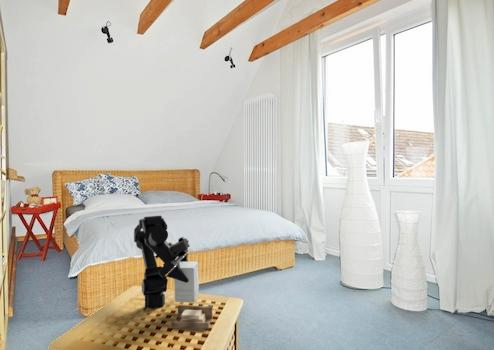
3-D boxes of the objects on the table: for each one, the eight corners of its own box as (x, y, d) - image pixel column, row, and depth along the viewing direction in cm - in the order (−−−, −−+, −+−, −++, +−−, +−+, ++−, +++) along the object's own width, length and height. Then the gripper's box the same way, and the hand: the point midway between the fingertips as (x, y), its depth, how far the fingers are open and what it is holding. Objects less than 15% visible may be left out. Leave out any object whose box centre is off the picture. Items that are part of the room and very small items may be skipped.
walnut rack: (172, 330, 109) (171, 316, 109) (179, 319, 117) (178, 305, 117) (207, 332, 108) (207, 317, 108) (212, 320, 116) (212, 306, 116)
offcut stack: (179, 326, 110) (178, 315, 110) (182, 319, 115) (182, 309, 115) (202, 326, 110) (202, 316, 110) (205, 320, 114) (205, 309, 114)
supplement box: (199, 294, 124) (199, 261, 124) (194, 303, 117) (193, 268, 116) (180, 293, 125) (179, 260, 124) (174, 302, 118) (173, 267, 117)
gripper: (167, 238, 111) (200, 271, 110) (182, 226, 129) (210, 255, 129) (145, 261, 112) (177, 294, 112) (163, 246, 130) (191, 274, 130)
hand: (190, 277), depth 121 cm, fingers closed on supplement box, 7 cm apart
